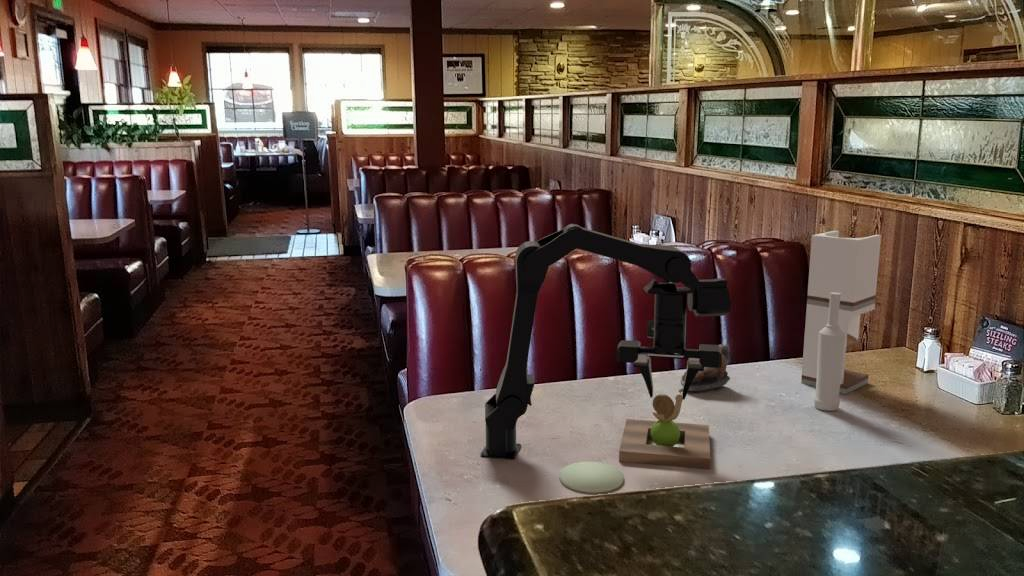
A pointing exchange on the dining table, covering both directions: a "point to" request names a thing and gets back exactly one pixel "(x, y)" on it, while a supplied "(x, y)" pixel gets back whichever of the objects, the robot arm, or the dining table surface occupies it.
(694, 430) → the frame
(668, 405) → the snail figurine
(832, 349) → the bottle
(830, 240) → the white tall stand
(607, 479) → the felt coaster
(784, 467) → the dining table surface
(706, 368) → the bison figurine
